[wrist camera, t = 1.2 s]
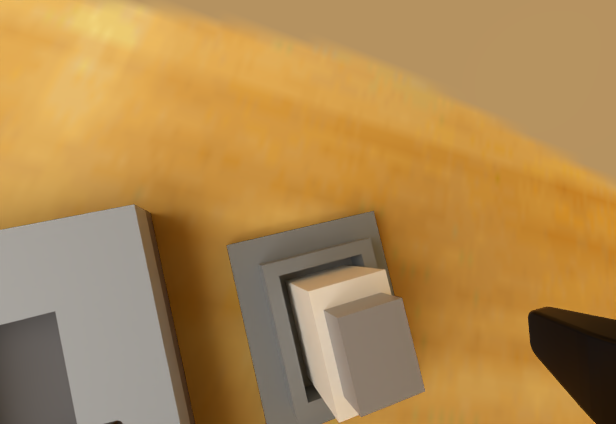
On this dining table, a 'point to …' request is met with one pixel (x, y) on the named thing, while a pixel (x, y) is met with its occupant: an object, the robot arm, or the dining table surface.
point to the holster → (277, 308)
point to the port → (88, 324)
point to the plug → (354, 339)
